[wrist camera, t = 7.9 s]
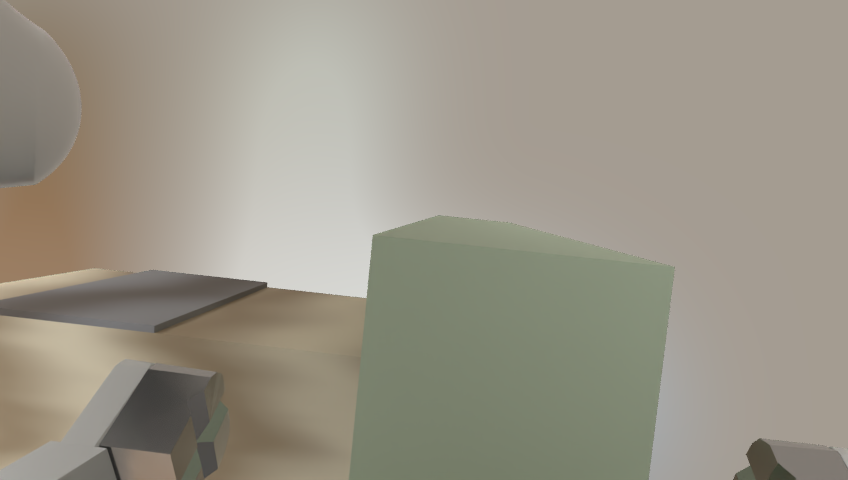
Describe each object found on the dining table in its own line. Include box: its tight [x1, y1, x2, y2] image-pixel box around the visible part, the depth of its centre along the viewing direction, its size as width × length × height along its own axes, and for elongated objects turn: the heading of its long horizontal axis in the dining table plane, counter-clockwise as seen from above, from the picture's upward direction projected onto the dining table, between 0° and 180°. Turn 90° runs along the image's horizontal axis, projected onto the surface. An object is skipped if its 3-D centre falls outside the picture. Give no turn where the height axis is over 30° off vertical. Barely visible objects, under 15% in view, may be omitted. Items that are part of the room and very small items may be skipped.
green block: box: [349, 215, 675, 480], centre depth 19 cm, size 4×24×4 cm, turn 177°
